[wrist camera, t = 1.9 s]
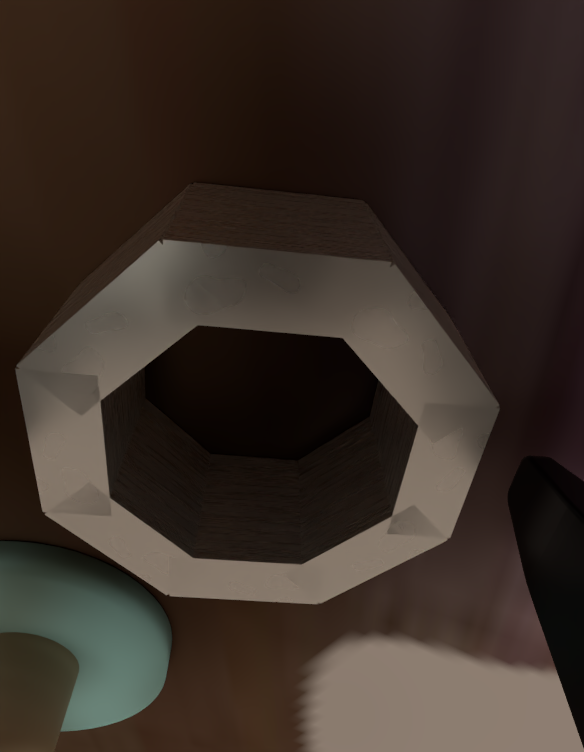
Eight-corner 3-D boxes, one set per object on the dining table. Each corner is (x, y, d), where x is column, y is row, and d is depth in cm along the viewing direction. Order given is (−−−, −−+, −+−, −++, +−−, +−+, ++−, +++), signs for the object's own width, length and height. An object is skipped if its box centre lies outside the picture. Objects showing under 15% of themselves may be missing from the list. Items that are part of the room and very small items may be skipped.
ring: (482, 212, 10) (550, 277, 7) (396, 503, 14) (422, 609, 11) (65, 168, 9) (-14, 222, 7) (99, 483, 13) (57, 589, 11)
